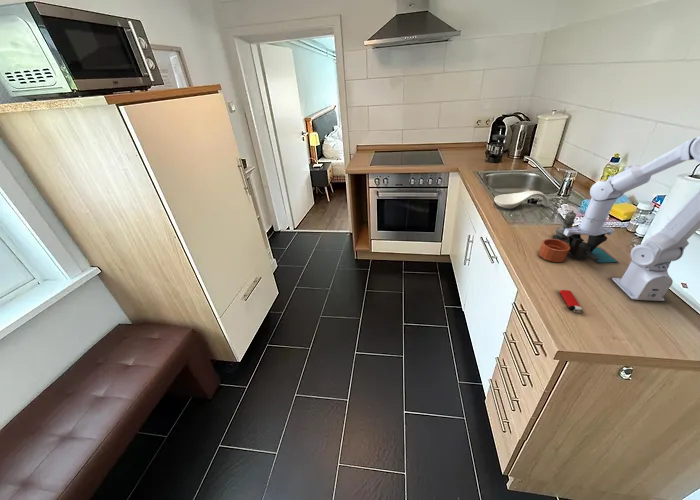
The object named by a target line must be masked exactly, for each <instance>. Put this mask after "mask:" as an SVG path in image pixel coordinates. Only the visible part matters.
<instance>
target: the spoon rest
mask: <svg viewBox="0 0 700 500" xmlns="http://www.w3.org/2000/svg"><path fill="white" fill-rule="evenodd" d="M533 196H539V197H542V202H541V204H542V205H543V207H545V208H548V207H549V204H550V201H549V197H548V196H547V195H546V194H544V193H543V192H541V191H539V190H526V191H520V192H514V193H504V194H498V195H496V196H495V197H494V198H493V200H494V203H496V205H497V206H498V207H501V208H503V209H506V210H507V209H508V210H511V209H515V208H516V207H518V206H520V205H521V204H522V203H523V202H525V201H527V200H528V199H530V198H531V197H533Z"/></svg>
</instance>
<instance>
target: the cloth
mask: <svg viewBox="0 0 700 500" xmlns="http://www.w3.org/2000/svg"><path fill="white" fill-rule="evenodd" d="M592 253H593V254H594V255H596V256H597V257H598V258H599V259H598V260H594V261H595V262H596V263H597V264H612V263H613V264H615V263H616V264H617V263H618V260H616V259H615V258H614V257H612V256H611V255H610V254H608V253H607V252H605V251H604V250H603V249H601V247H596V248H595V249H594V250H593V251H592Z"/></svg>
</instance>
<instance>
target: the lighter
mask: <svg viewBox="0 0 700 500" xmlns="http://www.w3.org/2000/svg"><path fill="white" fill-rule="evenodd" d="M559 293H560V295H561V297H562V298H563V300H564V302H565V304H566V305H567V307H568V309H569V310H570V311H573V312H574V313H575V314H576V313H577V314H581V313H583V312H584V310H583V308H582V307H581V305H580V304H579V302H578V300H577V299H576V297H575V296H574V294H573V292H572V291H571V290H568V289H567V290H566V289H561V290H560V291H559Z"/></svg>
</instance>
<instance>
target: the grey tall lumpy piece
mask: <svg viewBox="0 0 700 500" xmlns="http://www.w3.org/2000/svg"><path fill="white" fill-rule="evenodd" d="M576 217H577V214H576V212H575V211H574V210H573V209H572V210H571V211H568V212H566V214H565V217H564V219H562V224H561V225H560V226H558V227H556V228H555V234H556V235H553V239H557V240H561V241H563V242H566V243H569V239H568V236H566V235H564V234H563V233H564V230H565V229H566V228H572V227H573V225H574V224H575V219H576Z"/></svg>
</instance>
